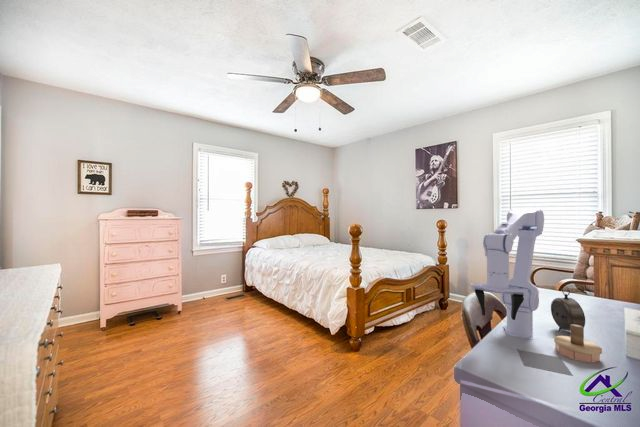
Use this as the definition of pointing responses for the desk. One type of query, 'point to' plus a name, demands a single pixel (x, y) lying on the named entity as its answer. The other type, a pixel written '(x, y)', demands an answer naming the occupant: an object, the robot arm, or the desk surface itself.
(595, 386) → the desk surface
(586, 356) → the bowl
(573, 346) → the lid
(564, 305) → the alarm clock
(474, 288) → the robot arm
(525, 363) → the mat
